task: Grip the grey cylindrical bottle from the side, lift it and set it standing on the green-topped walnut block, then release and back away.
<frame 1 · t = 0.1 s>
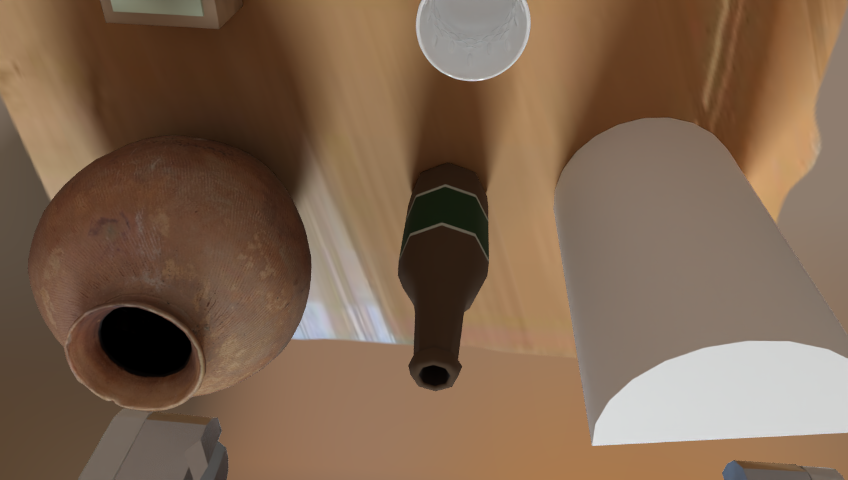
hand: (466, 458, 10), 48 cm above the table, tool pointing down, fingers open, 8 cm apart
cylinder: (642, 197, 63), on the table
beer bottle: (448, 193, 64), on the table
pottery: (226, 194, 66), on the table
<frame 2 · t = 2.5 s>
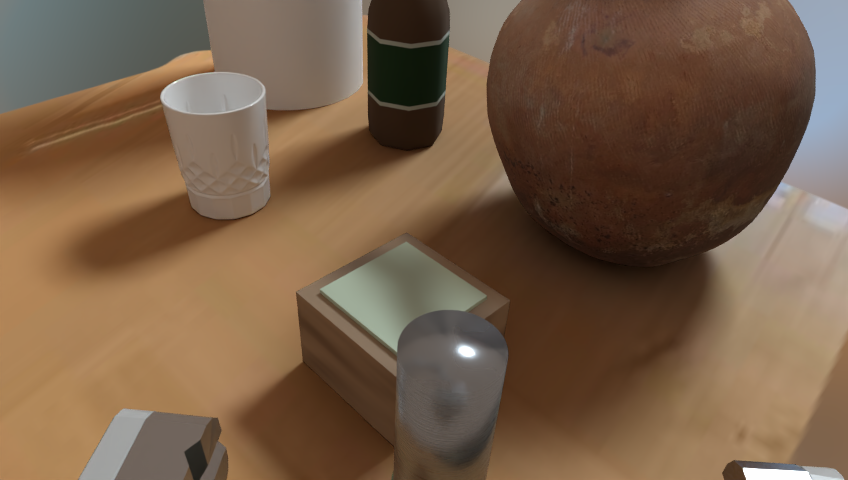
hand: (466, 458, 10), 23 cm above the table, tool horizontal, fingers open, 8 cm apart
white cup: (231, 200, 56), on the table
stand block: (401, 364, 42), on the table
cylinder: (291, 79, 77), on the table
beer bottle: (405, 135, 67), on the table
pottery: (603, 225, 56), on the table
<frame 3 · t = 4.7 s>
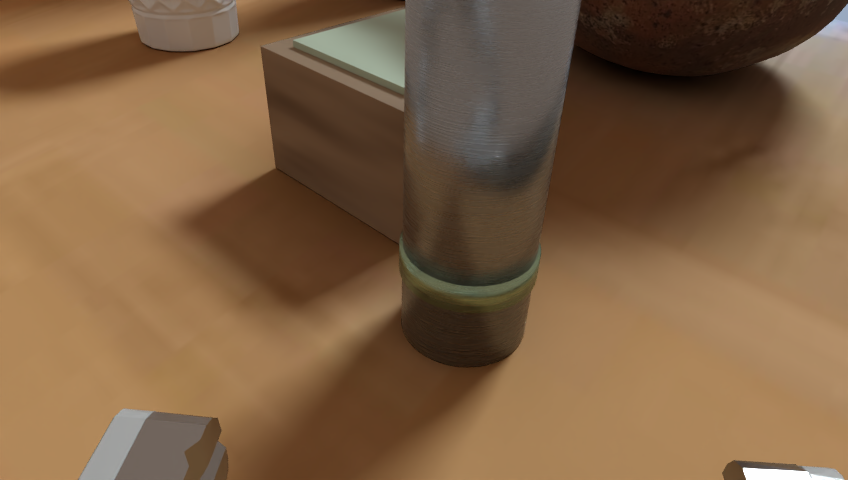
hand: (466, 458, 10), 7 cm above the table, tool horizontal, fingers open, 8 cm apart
white cup: (191, 38, 46), on the table
grey cylindrical bottle: (462, 320, 23), on the table
stand block: (406, 169, 31), on the table
pottery: (645, 56, 46), on the table
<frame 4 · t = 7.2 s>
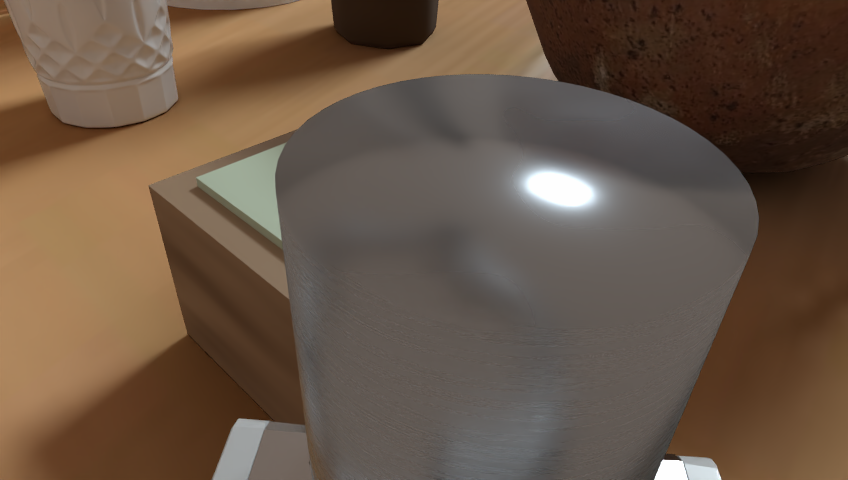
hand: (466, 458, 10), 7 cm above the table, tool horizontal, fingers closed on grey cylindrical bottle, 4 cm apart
white cup: (118, 106, 37), on the table
stand block: (371, 336, 22), on the table
beer bottle: (385, 34, 48), on the table
pottery: (685, 130, 37), on the table
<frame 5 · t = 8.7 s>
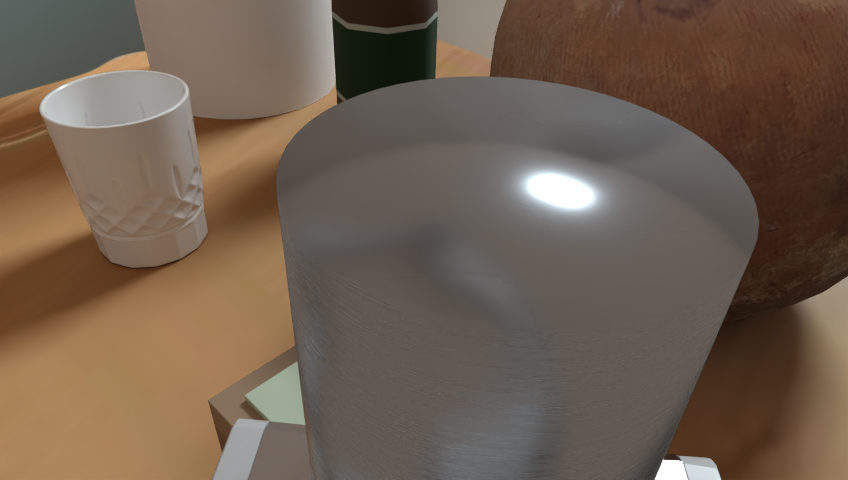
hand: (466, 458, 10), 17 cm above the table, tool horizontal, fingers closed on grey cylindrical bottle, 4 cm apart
white cup: (156, 239, 42), on the table
cylinder: (248, 82, 63), on the table
beer bottle: (386, 146, 54), on the table
pottery: (647, 258, 42), on the table
when the fingers open (14 cm above the table, at t = 10.5 s): grey cylindrical bottle drops 1 cm, resting on stand block.
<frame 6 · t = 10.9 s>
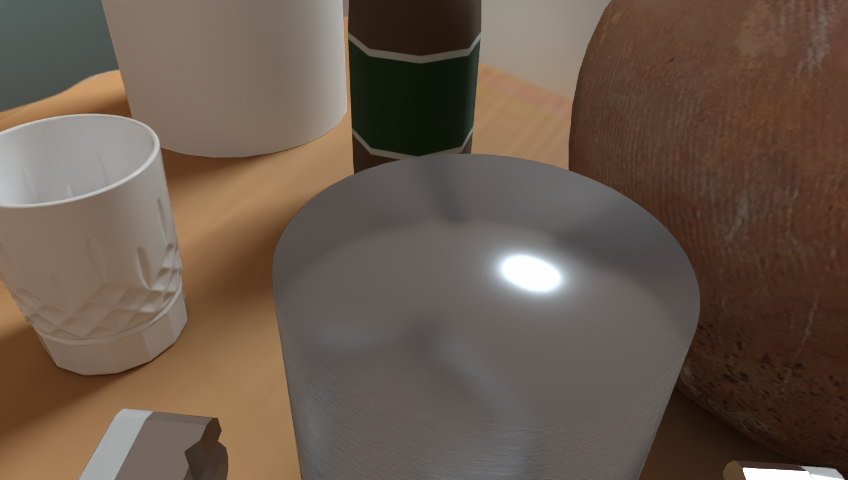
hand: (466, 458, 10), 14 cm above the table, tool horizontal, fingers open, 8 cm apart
white cup: (120, 329, 33), on the table
cylinder: (244, 109, 54), on the table
beer bottle: (411, 193, 44), on the table
pottery: (757, 358, 32), on the table
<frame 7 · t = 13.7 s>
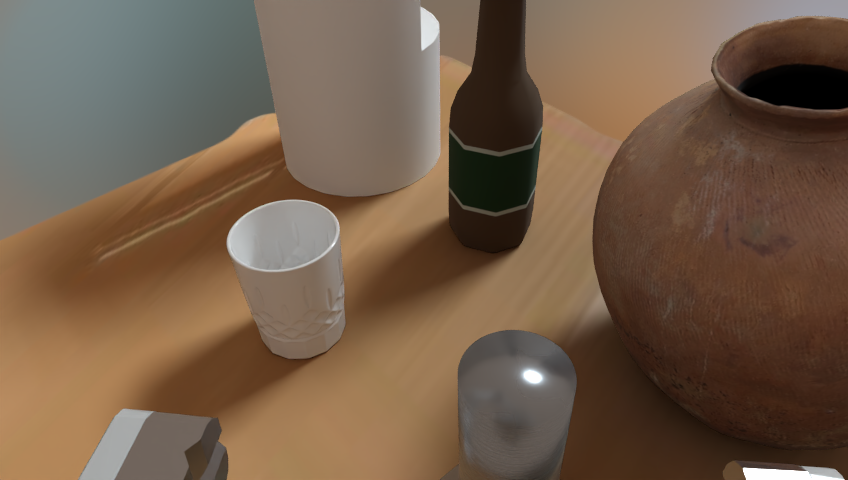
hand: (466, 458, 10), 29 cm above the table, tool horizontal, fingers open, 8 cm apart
white cup: (304, 329, 52), on the table
cylinder: (363, 151, 71), on the table
beer bottle: (489, 229, 61), on the table
pottery: (723, 364, 48), on the table
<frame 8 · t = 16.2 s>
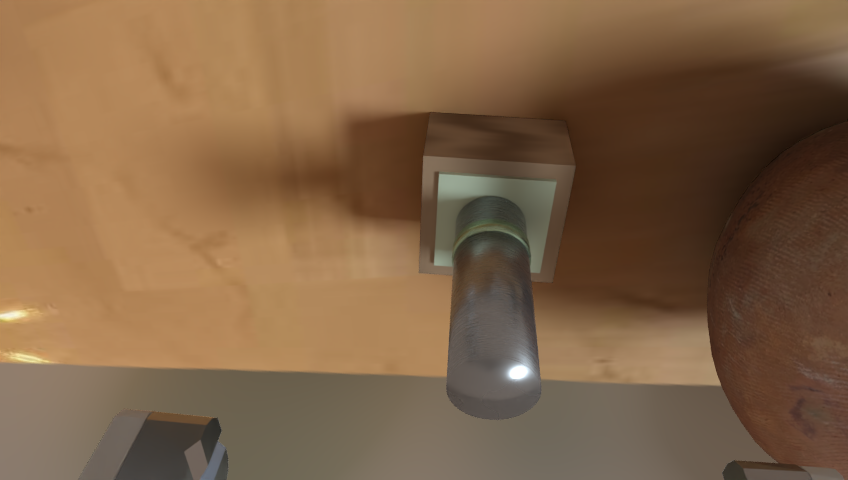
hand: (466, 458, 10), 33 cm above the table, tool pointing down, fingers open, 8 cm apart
grey cylindrical bottle: (490, 225, 40), point 6 cm above the table, touching stand block
stand block: (491, 174, 45), on the table
pottery: (836, 196, 44), on the table
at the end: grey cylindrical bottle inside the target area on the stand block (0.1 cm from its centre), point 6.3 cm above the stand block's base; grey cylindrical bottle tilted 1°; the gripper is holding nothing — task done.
